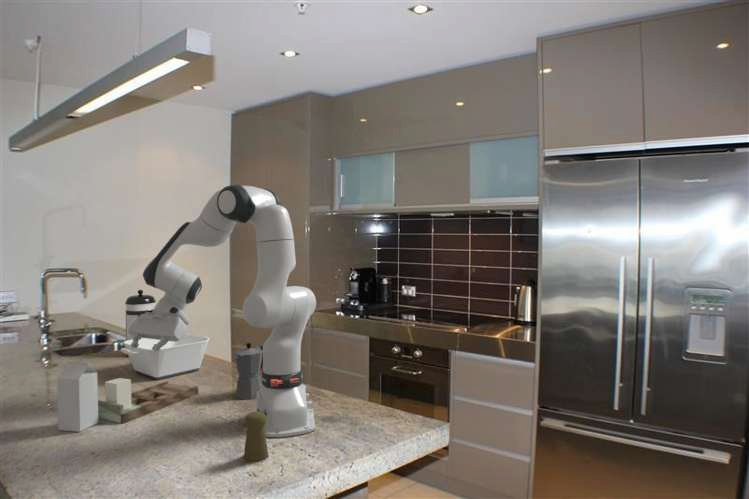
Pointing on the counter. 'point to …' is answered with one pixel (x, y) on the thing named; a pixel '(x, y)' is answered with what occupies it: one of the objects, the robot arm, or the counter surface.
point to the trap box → (145, 402)
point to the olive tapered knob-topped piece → (255, 437)
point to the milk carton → (77, 397)
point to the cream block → (118, 392)
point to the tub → (167, 356)
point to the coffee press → (137, 309)
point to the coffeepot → (249, 371)
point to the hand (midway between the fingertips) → (143, 348)
